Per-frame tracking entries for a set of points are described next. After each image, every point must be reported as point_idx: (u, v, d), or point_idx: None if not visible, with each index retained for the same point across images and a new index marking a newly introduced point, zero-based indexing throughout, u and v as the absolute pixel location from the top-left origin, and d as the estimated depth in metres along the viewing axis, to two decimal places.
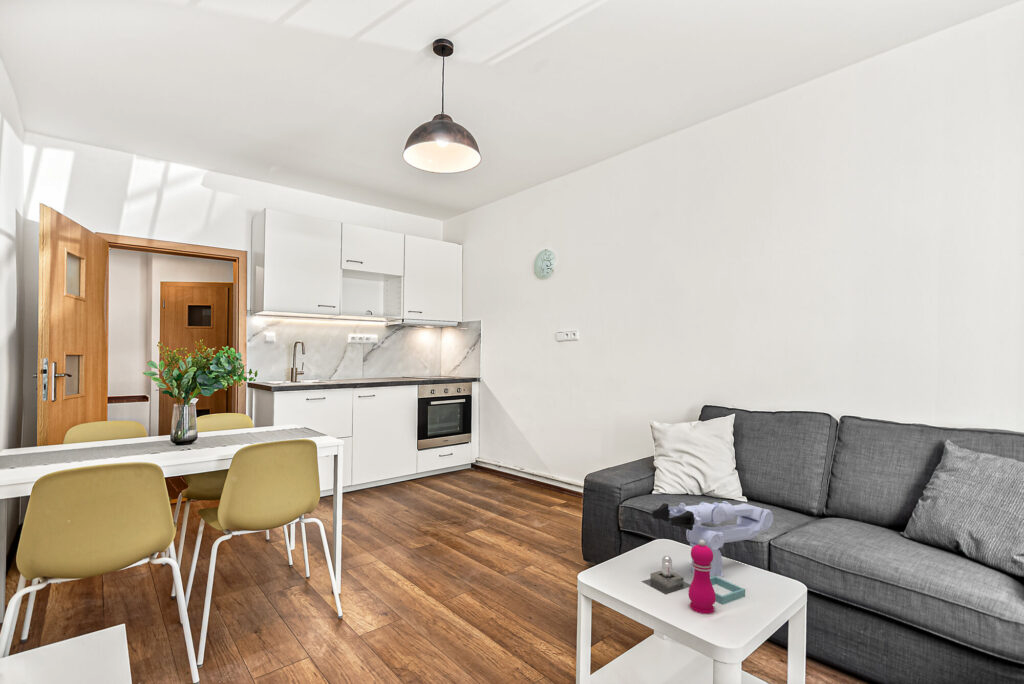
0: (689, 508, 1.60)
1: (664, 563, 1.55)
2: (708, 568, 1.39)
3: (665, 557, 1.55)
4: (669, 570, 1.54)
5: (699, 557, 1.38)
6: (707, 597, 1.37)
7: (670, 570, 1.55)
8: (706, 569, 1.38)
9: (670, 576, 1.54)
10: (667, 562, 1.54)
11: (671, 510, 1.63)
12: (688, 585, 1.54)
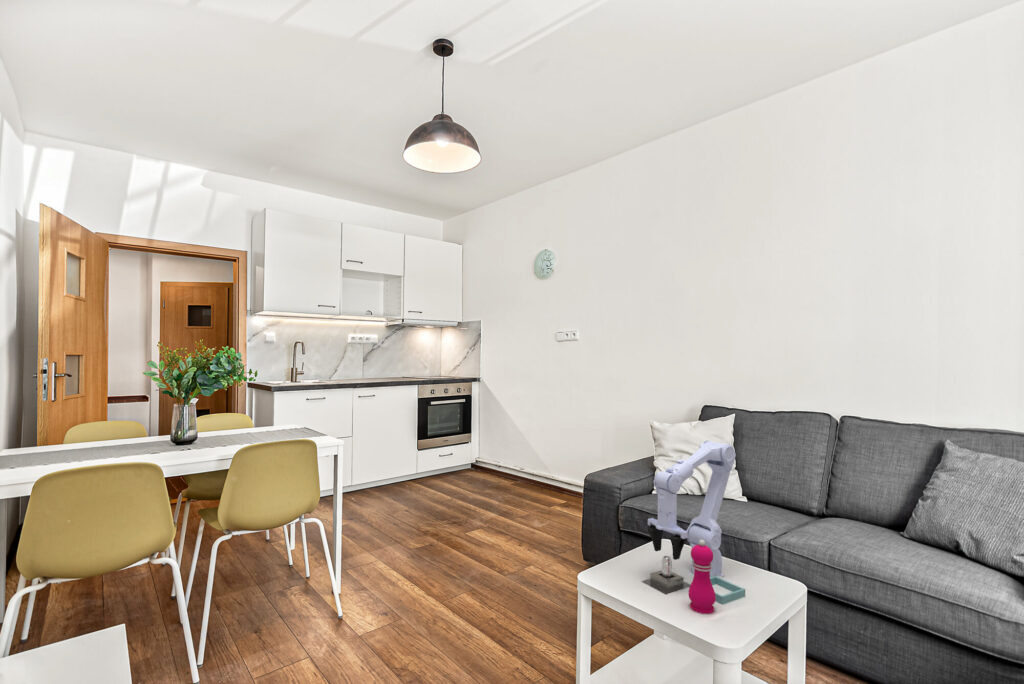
0: (664, 522, 1.54)
1: (664, 563, 1.55)
2: (708, 568, 1.39)
3: (665, 557, 1.55)
4: (669, 570, 1.54)
5: (699, 557, 1.38)
6: (707, 597, 1.37)
7: (670, 570, 1.55)
8: (706, 569, 1.38)
9: (670, 576, 1.54)
10: (667, 562, 1.54)
11: None
12: (688, 585, 1.54)
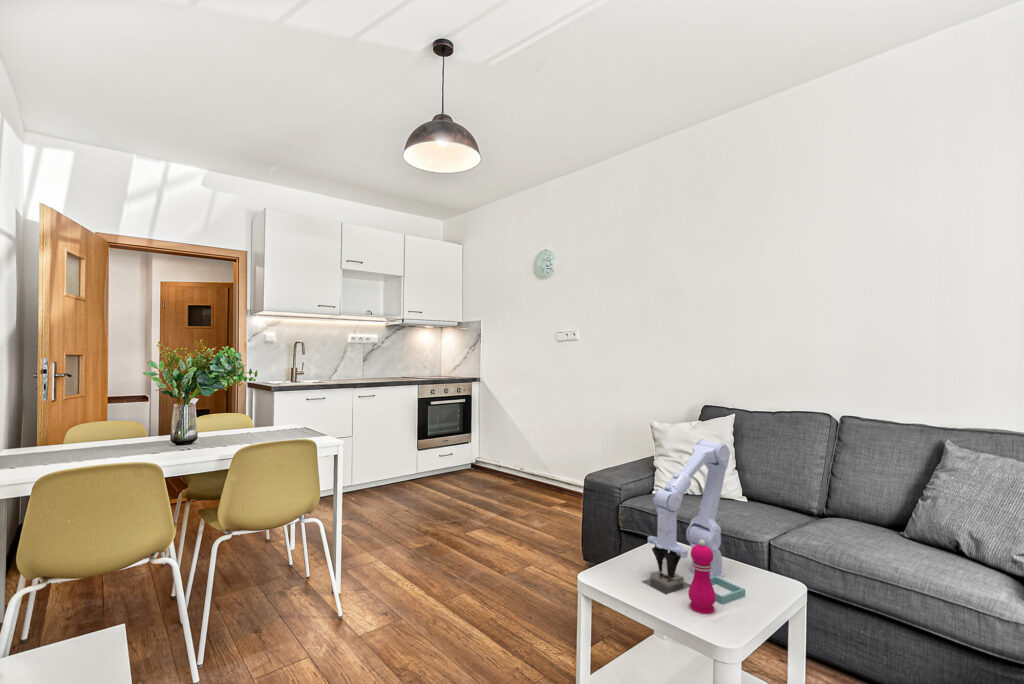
0: (664, 540, 1.54)
1: (664, 563, 1.55)
2: (708, 568, 1.39)
3: (665, 557, 1.55)
4: None
5: (699, 557, 1.38)
6: (707, 597, 1.37)
7: None
8: (706, 569, 1.38)
9: (670, 576, 1.54)
10: None
11: None
12: (688, 585, 1.54)
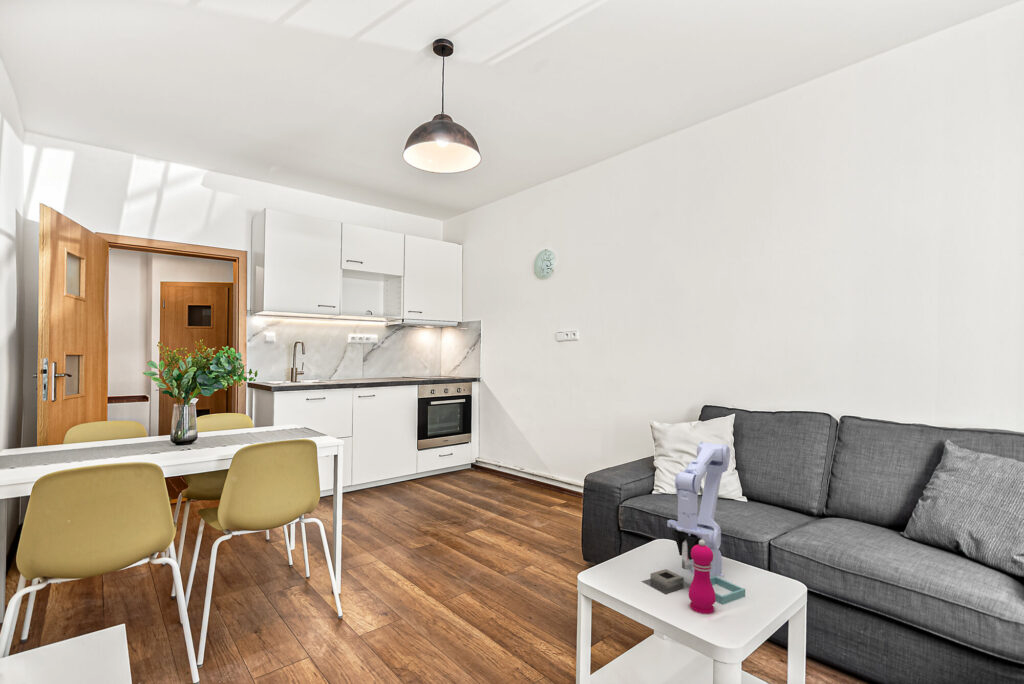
0: (684, 523, 1.51)
1: (684, 546, 1.52)
2: (708, 568, 1.39)
3: (685, 540, 1.53)
4: None
5: (699, 557, 1.38)
6: (707, 597, 1.37)
7: None
8: (706, 569, 1.38)
9: (690, 560, 1.52)
10: (687, 546, 1.52)
11: None
12: (688, 585, 1.54)
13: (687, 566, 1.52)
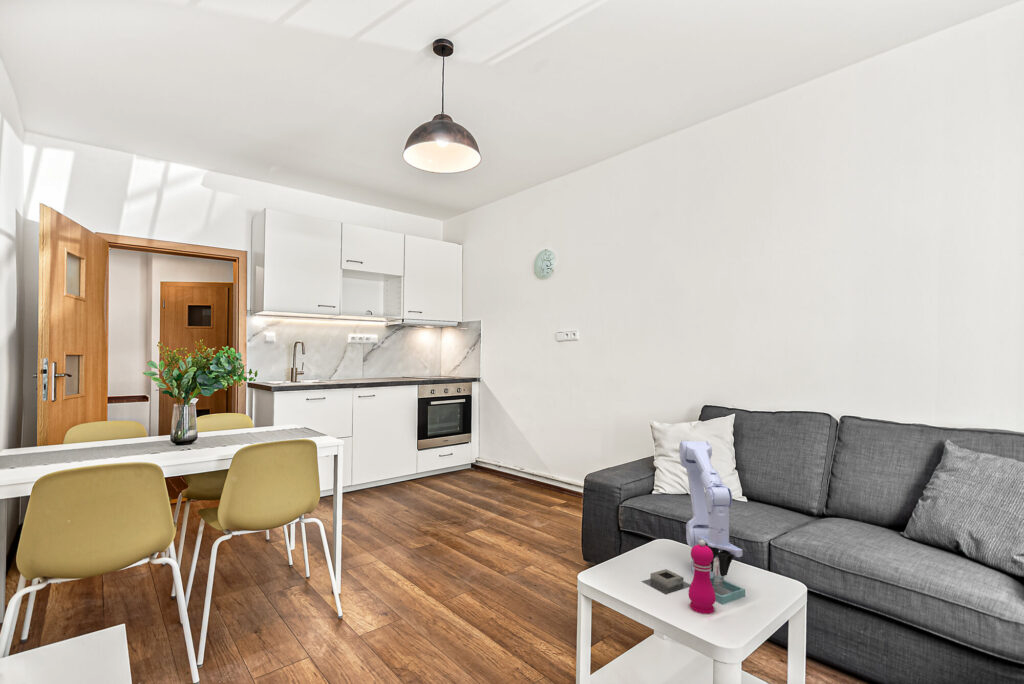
0: (716, 539, 1.48)
1: (715, 562, 1.49)
2: (708, 568, 1.39)
3: (716, 556, 1.50)
4: None
5: (699, 557, 1.38)
6: (707, 597, 1.37)
7: None
8: (706, 569, 1.38)
9: (722, 576, 1.48)
10: (719, 562, 1.49)
11: None
12: (688, 585, 1.54)
13: (719, 583, 1.48)
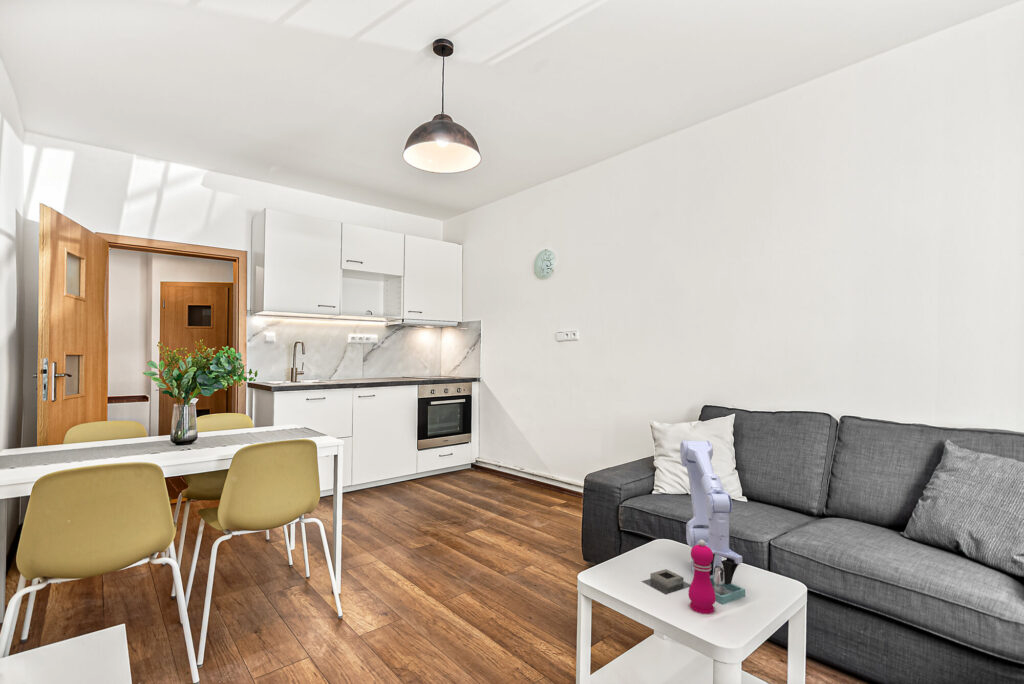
0: (716, 545, 1.48)
1: (716, 572, 1.49)
2: (708, 568, 1.39)
3: (718, 566, 1.50)
4: (721, 580, 1.48)
5: (699, 557, 1.38)
6: (707, 597, 1.37)
7: (722, 580, 1.49)
8: (706, 569, 1.38)
9: (722, 587, 1.48)
10: (720, 572, 1.48)
11: None
12: (688, 585, 1.54)
13: (719, 593, 1.48)
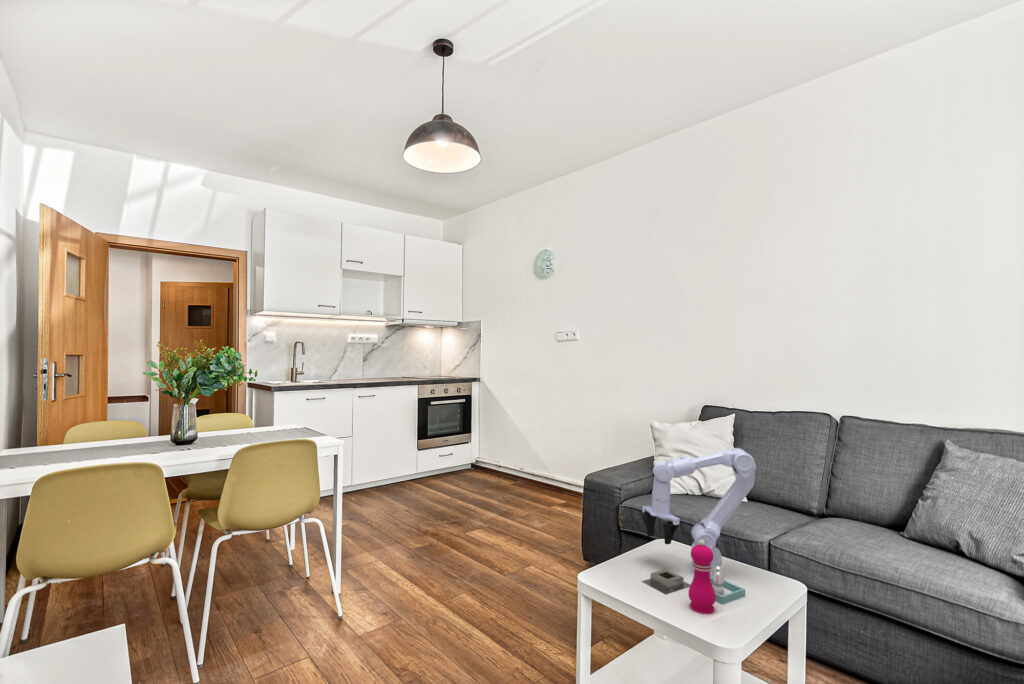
0: (658, 509, 1.65)
1: (715, 573, 1.49)
2: (708, 568, 1.39)
3: (716, 567, 1.50)
4: (721, 581, 1.48)
5: (699, 557, 1.38)
6: (707, 597, 1.37)
7: (722, 580, 1.49)
8: (706, 569, 1.38)
9: (722, 587, 1.48)
10: (718, 572, 1.49)
11: None
12: (688, 585, 1.54)
13: (719, 593, 1.48)
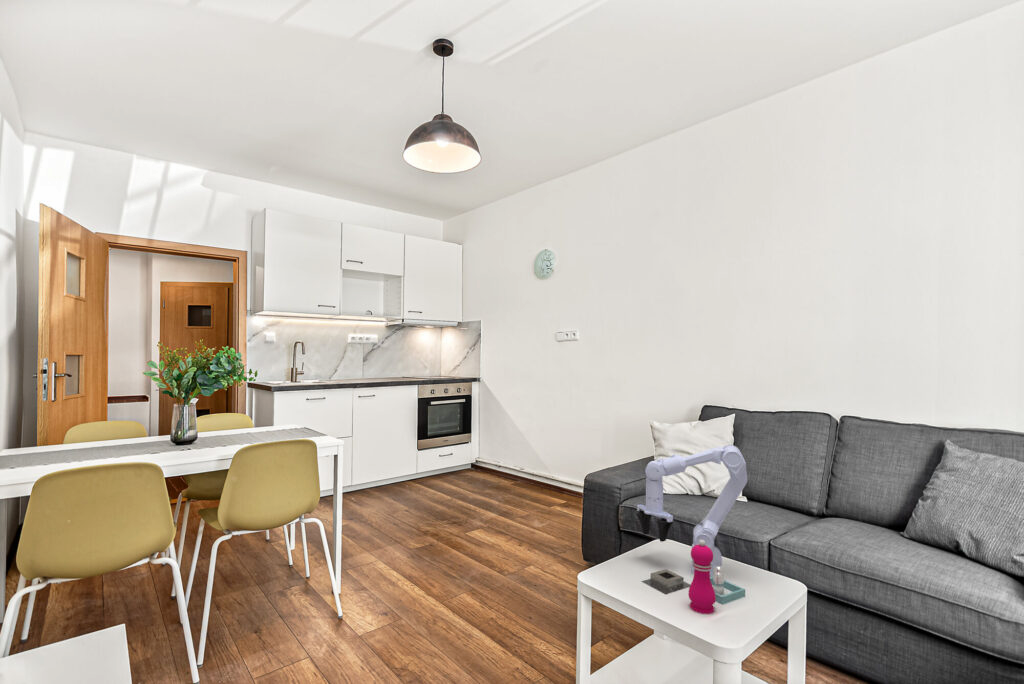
0: (651, 507, 1.68)
1: (715, 573, 1.49)
2: (708, 568, 1.39)
3: (717, 567, 1.49)
4: (721, 581, 1.48)
5: (699, 557, 1.38)
6: (707, 597, 1.37)
7: (722, 581, 1.48)
8: (706, 569, 1.38)
9: (722, 587, 1.48)
10: (719, 573, 1.48)
11: None
12: (688, 585, 1.54)
13: (719, 593, 1.48)
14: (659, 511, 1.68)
